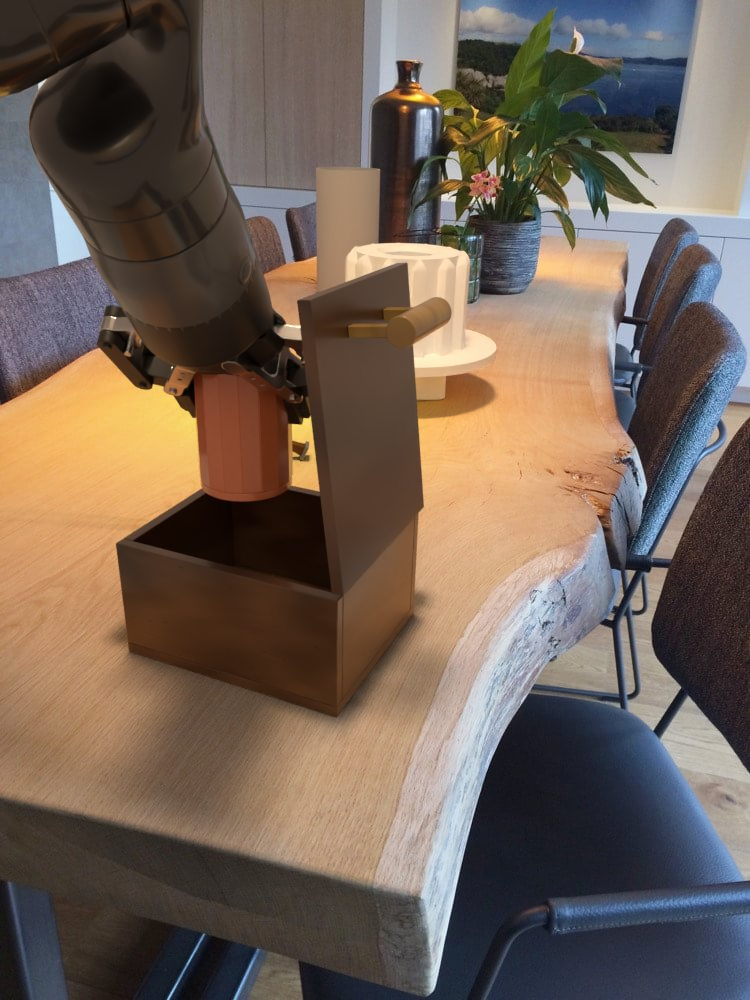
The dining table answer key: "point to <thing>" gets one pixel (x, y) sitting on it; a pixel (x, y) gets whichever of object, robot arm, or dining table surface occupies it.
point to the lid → (365, 412)
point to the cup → (241, 439)
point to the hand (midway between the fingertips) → (249, 408)
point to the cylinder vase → (344, 218)
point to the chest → (262, 597)
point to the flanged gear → (428, 278)
